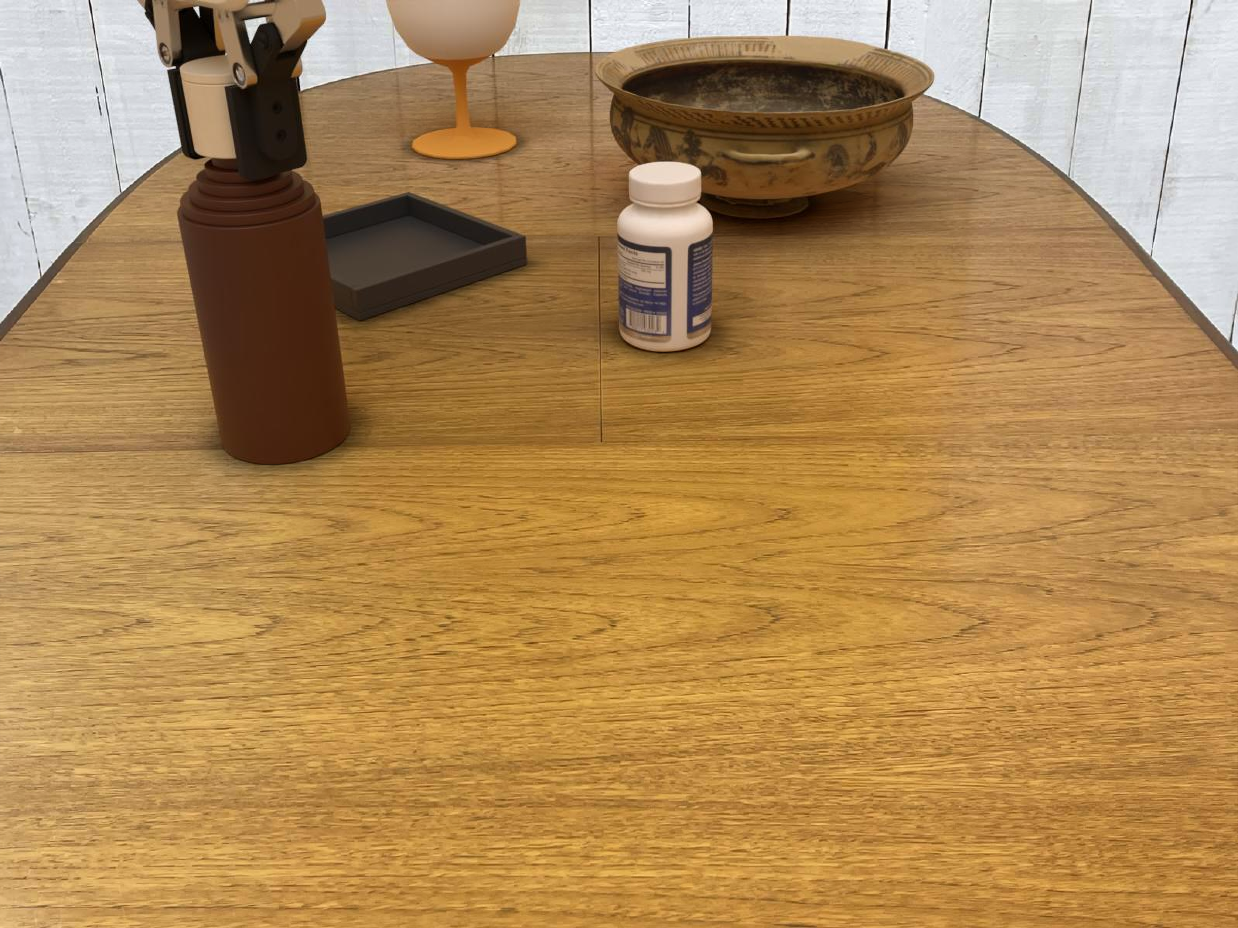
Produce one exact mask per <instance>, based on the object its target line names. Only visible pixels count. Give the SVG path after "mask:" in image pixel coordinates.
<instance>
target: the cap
mask: <svg viewBox="0 0 1238 928" xmlns="http://www.w3.org/2000/svg"><path fill="white" fill-rule="evenodd" d="M180 73H181V78H182V84H183V90H184V95H185V100H186V106H187V111H188V117H189V122H190V128H191V133H192V139H193V144H194V149H195V151H196V153H198V154H199V155H201V156H205V157H206V158H209V159H211V158H219V159H236V154H235V148H234V142H233V136H232V130H231V124H230V118H229V112H228V106H227V100H226V94H225V88H224V87H225V86H230V85H234V84H235V82H234V80H233V77H232V74H231V70H230V66H229V62H228V58H227V54H225V55H222V56H213V57H206V58H201V59H197V60H193V61H190V62H187V63H185V64H183V65H182V66H181V67H180Z"/></svg>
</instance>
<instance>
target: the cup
mask: <svg viewBox="0 0 1238 928" xmlns="http://www.w3.org/2000/svg"><path fill="white" fill-rule="evenodd" d="M385 3H386V7H387V10H388V13H389V15H390V19H391V20H392V24H393V26H394V28H395V31H396V32H397V34H398V35H399V37H400V38H401V39H402V41H403V42H404V44H405V45H406V47H407V48H408V49H409V50H411V51H412V52H413V53H414V54H416V55H418V56H419V57H421V58H423V59H426V60H427V61H430V62H432V63H434V64H436V65H439V66H442V67H445V68H448V70H449V71H450V73H451V74H452V81H453V87H454V97H455V115H456V116H455V119H456V120H455V121H456V122H455V127H452V128H451V127H450V128H443V129H438V130H433V131H430V132H427V133H424V134H421V135H419V136H418V137H416V138H415V139H413V140H412V144H411V149H412V150H414V151H415V152H416V153H417V154H419V155H422V156H426V157H429V158H433V159H443V160H474V159H480V158H481V159H483V158H488V157H493V156H497V155H500V154H503V153H506V152H509V151H510V150H512V149H513V148H514V147H515V146H517V137H516V136H515V135H513V134H512V133H511V132H508V131H506V130H501V129H497V128H493V127H492V128H491V127H479V126H478V127H477V126H471V121H470V114H469V105H468V94H467V93H468V90H467V89H468V87H467V73H468V71H469V69H470V68H471V67H472V66H475V65H478V64H481V62H484V61H485V60H487V59H488V58H490V57H491V56H493V55H495V54H497V53H499V52H500V51H501V50H502V49H503V48H504V47H505V46H506V45H507V44H508V41H509V39H510V37H511V35H512V33H513V31H514V29H515V28H516V25H517V21H518V15H519V11H520V7H521V6H520V5H521V0H385Z"/></svg>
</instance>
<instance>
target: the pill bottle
mask: <svg viewBox="0 0 1238 928" xmlns="http://www.w3.org/2000/svg"><path fill="white" fill-rule="evenodd" d="M701 194H702V192H701V171H700V170H699V169H698V168H697V167H695V166H693V165H690V164H685V163H680V162H653V163H647V164H643V165H637V166H635V167H633V168H632V169H630V171H629V172H628V197H629V200H630V201H631V202H632V204H629V205H627V206H626V207H625V208H624V209H623V210H622V211H621V213H620V214H619V216H618V218H617V221H616V222H617V224H616V228H617V230H616V234H617V237H616V239H617V271H618V272H617V279H618V280H617V281H618V282H617V283H618V287H617V288H618V328H619V334H620V336H621V337H622V339H623V340H624V341H625V342H627V343H628V344H629V345H631V346H633V347H636V348H638V349H641V350H644V351H645V350H646V351H650V352H662V353H664V352H676V351H682V350H687V349H690V348H694V347H696V346H698V345H700V344H702V343H704V342H705V341H706V340H707V339H708V338H709V336H710V334H711V330H712V314H713V312H712V307H713V261H714V260H713V259H714V258H713V251H714V250H713V248H714V243H713V242H714V225H713V224H714V222H713V218H712V215H711V213H710V211H709V210H708V208H706V207H704V206H703V205H702V204H701V203H698V201H700V197H701Z"/></svg>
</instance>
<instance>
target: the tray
mask: <svg viewBox="0 0 1238 928" xmlns="http://www.w3.org/2000/svg"><path fill="white" fill-rule="evenodd" d="M322 216H323V223H324V231H325V238H326V246H327V253H328V261H329V268H330V276H331V283H332V290H333V298H334V305H335V310H338V311H339V312H342V313H343V314H346V315H347V316H350V317H352V318H353V319H355V320H358V321H359V322H360V321H364V320H367V319H370V318H373V317H377V316H378V315H382V314H384V313H387V312H391V311H393V310H397V309H399V308H402V307H406V306H408V305H411V304H414V303H417V302H419V301H423V300H427V299H428V298H431V297H434V296H438V295H440V294H444V293H446V292H449V291H451V290H455V289H458V288H461V287H463V286H468V285H470V284H472V283H476V282H478V281H479V282H480V281H481V280H482V281H483V280H485V279H487V278H490V277H493V276H497V275H500V274H502V273H505V272H508V271H512V270H514V269H517V268H520V267H522V266H526V265H528V258H527V254H528V253H527V237H526V235H525V234H522V233H519V232H517V231H514V230H511V229H508V228H506V227H503V226H502V225H501V226H500V225H498V224H495V223H492V222H490V221H487V220H484V219H482V218H479V217H477V216H474V215H472V214H468V213H466V212H464V211H462V210H461V211H460V210H458V209H456V208H452V207H450V206H448V205H445V204H442V203H439V202H437V201H434V200H431V199H429V198H426V197H425V196H424V197H423V196H421V195H418V194H416V193H413V192H411V191H407V192H403V193H399V194H395V195H393V196H388V197H385V198H381V199H377V200H374V201H371V202H367V203H363V204H360V205H356V206H352V207H349V208H344V209H342V210H338V211H334V212H330V213H326V214H322Z"/></svg>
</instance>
